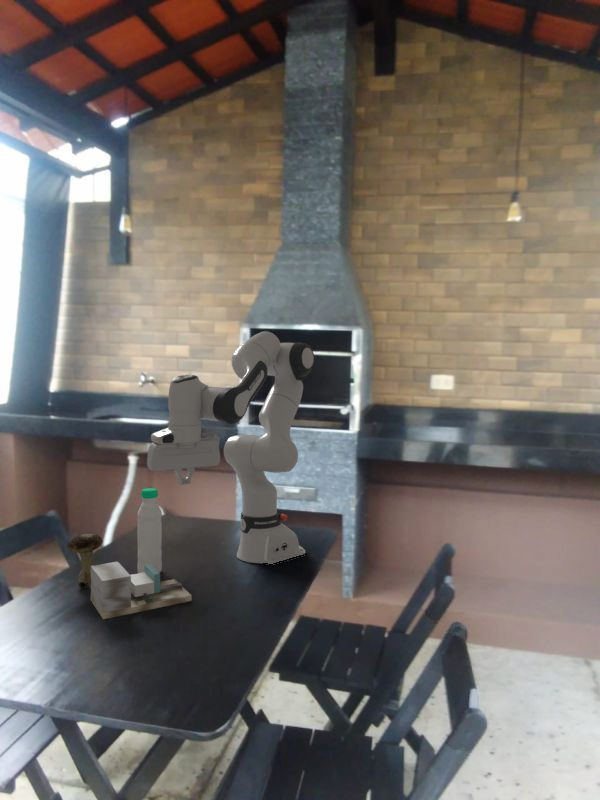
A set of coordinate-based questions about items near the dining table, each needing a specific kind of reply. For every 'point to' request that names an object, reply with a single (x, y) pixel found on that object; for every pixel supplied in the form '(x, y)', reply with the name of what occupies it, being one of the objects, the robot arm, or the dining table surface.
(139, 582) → the block with teal panel
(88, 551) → the mushroom
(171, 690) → the dining table surface
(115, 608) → the frame
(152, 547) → the water bottle
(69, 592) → the dining table surface
